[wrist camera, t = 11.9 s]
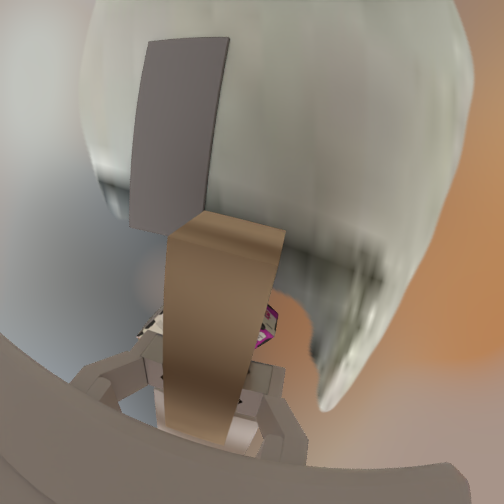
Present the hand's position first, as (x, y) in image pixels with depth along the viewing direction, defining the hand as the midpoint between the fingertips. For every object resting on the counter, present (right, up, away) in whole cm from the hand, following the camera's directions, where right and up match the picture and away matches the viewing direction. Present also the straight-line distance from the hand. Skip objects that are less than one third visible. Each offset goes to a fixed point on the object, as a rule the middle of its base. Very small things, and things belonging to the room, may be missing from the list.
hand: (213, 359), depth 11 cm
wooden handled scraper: (0, -2, +2) cm, 3 cm away
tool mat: (-7, +18, +17) cm, 26 cm away
